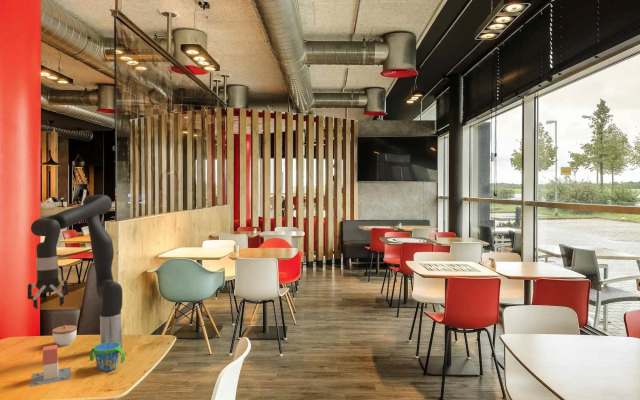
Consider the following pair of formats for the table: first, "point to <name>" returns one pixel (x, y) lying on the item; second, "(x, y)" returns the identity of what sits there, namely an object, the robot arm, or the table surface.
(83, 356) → the table surface
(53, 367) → the cream brick
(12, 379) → the table surface
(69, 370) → the base plate
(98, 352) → the snack cup
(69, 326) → the lidded jar
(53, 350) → the red brick
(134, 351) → the table surface
